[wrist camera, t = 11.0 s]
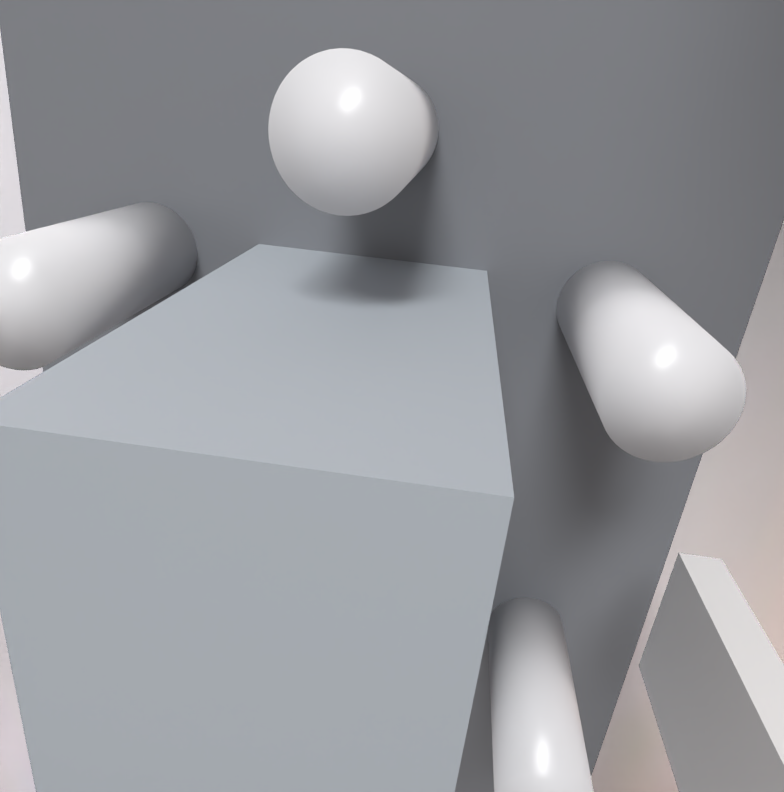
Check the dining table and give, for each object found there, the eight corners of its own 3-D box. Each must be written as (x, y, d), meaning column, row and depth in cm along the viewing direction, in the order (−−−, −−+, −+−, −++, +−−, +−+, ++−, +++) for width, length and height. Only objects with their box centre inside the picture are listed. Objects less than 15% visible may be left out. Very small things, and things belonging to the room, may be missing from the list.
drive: (253, 599, 18) (74, 1000, 10) (256, 243, 14) (-43, 419, 6) (433, 627, 18) (402, 1065, 10) (489, 271, 14) (520, 497, 5)
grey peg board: (107, 705, 22) (-15, 905, 17) (15, -166, 13) (-358, -400, 7) (569, 786, 21) (606, 1027, 16) (856, -87, 12) (1224, -283, 6)
